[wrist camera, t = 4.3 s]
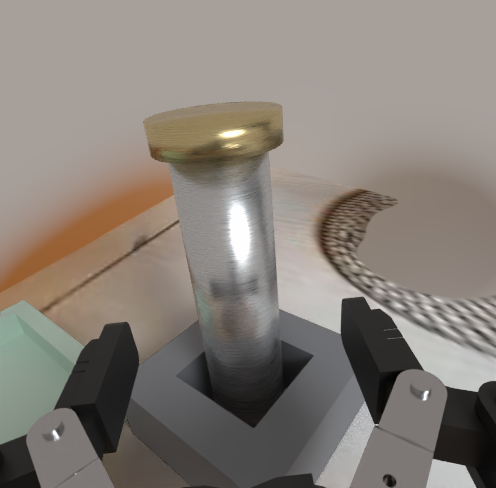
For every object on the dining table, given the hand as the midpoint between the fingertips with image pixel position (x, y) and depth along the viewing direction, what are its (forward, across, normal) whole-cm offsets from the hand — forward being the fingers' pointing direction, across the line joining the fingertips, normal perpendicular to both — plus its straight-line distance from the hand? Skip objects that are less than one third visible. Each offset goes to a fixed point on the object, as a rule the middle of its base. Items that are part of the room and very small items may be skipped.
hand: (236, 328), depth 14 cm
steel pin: (+4, 0, +10) cm, 11 cm away
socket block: (+4, 0, +10) cm, 11 cm away
